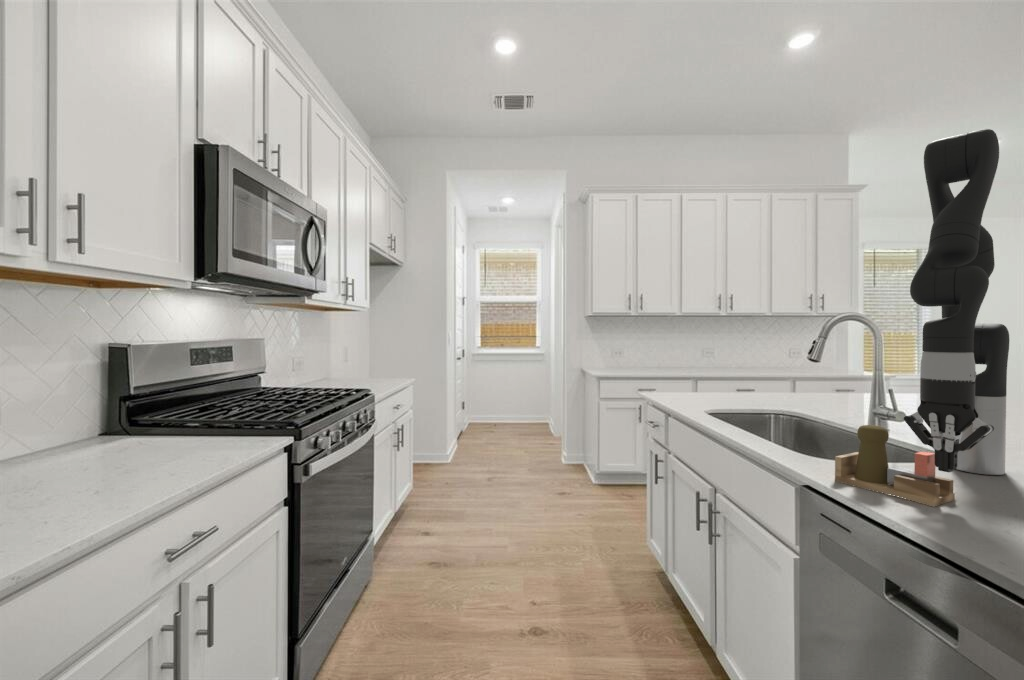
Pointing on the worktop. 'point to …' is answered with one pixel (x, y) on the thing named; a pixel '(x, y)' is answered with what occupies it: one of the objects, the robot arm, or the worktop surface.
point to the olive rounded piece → (872, 454)
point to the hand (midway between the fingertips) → (945, 470)
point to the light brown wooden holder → (897, 483)
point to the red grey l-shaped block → (916, 469)
